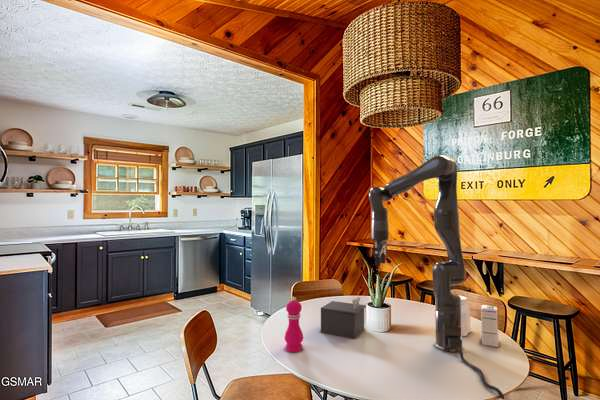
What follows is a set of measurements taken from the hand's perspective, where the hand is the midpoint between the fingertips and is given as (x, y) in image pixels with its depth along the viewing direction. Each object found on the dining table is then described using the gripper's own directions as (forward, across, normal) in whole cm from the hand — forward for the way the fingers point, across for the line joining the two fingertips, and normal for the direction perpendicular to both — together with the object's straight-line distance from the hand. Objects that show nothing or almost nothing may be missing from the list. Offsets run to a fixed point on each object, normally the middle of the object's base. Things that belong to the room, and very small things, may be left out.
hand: (380, 264), depth 161 cm
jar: (+28, +8, -32) cm, 43 cm away
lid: (+18, -15, +13) cm, 27 cm away
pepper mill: (+28, -42, +22) cm, 56 cm away
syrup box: (+28, 0, -44) cm, 53 cm away
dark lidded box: (+28, -15, +13) cm, 34 cm away
